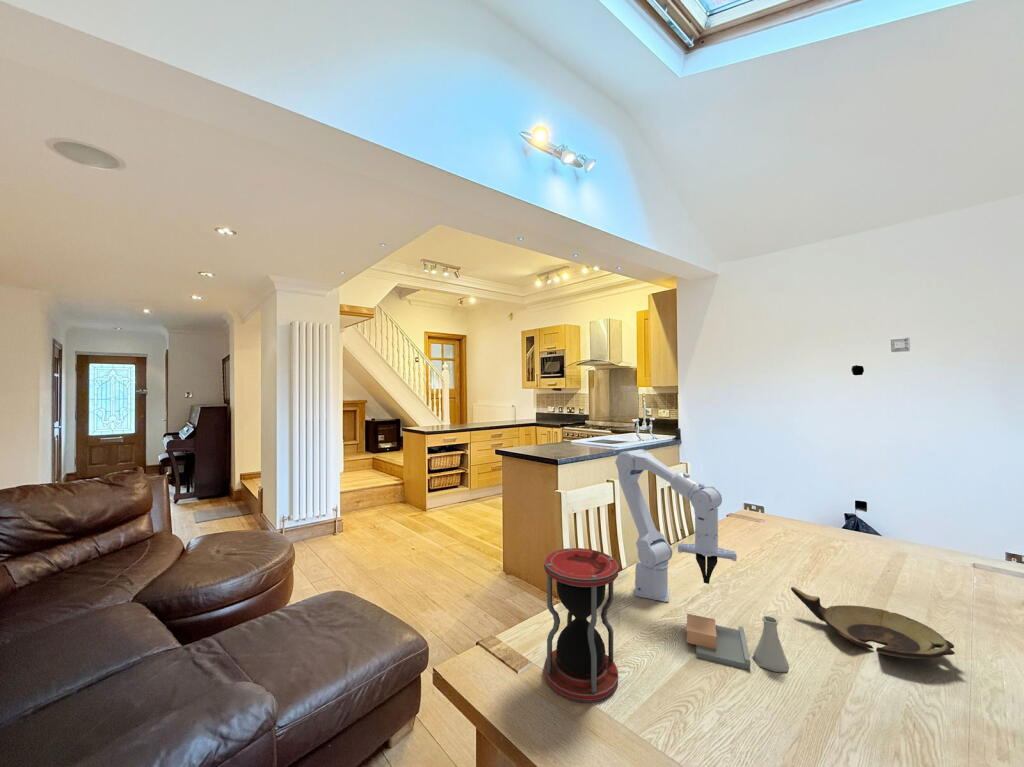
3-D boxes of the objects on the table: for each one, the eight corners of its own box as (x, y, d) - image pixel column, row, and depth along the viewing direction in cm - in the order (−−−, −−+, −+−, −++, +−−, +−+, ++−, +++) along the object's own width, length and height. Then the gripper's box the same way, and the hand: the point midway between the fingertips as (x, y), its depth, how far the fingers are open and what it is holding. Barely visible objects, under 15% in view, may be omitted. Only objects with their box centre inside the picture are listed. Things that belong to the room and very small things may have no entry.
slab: (686, 630, 100) (716, 636, 98) (687, 613, 108) (714, 619, 105) (686, 642, 100) (716, 649, 98) (687, 625, 108) (714, 631, 105)
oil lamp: (920, 692, 86) (920, 655, 86) (780, 617, 114) (779, 589, 114) (974, 665, 94) (974, 631, 94) (831, 601, 122) (831, 575, 122)
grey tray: (696, 657, 97) (696, 647, 97) (696, 625, 109) (696, 617, 109) (750, 670, 92) (750, 660, 92) (743, 635, 105) (743, 627, 105)
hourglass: (632, 696, 84) (632, 574, 84) (557, 709, 81) (557, 582, 81) (599, 647, 100) (599, 544, 100) (535, 656, 97) (535, 550, 97)
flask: (784, 656, 97) (783, 613, 97) (793, 676, 90) (793, 631, 90) (749, 649, 100) (749, 608, 100) (756, 669, 93) (755, 624, 93)
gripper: (677, 533, 112) (677, 583, 112) (737, 541, 107) (737, 594, 106) (678, 525, 119) (678, 572, 119) (735, 532, 113) (735, 582, 113)
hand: (706, 581), depth 113 cm, fingers closed
